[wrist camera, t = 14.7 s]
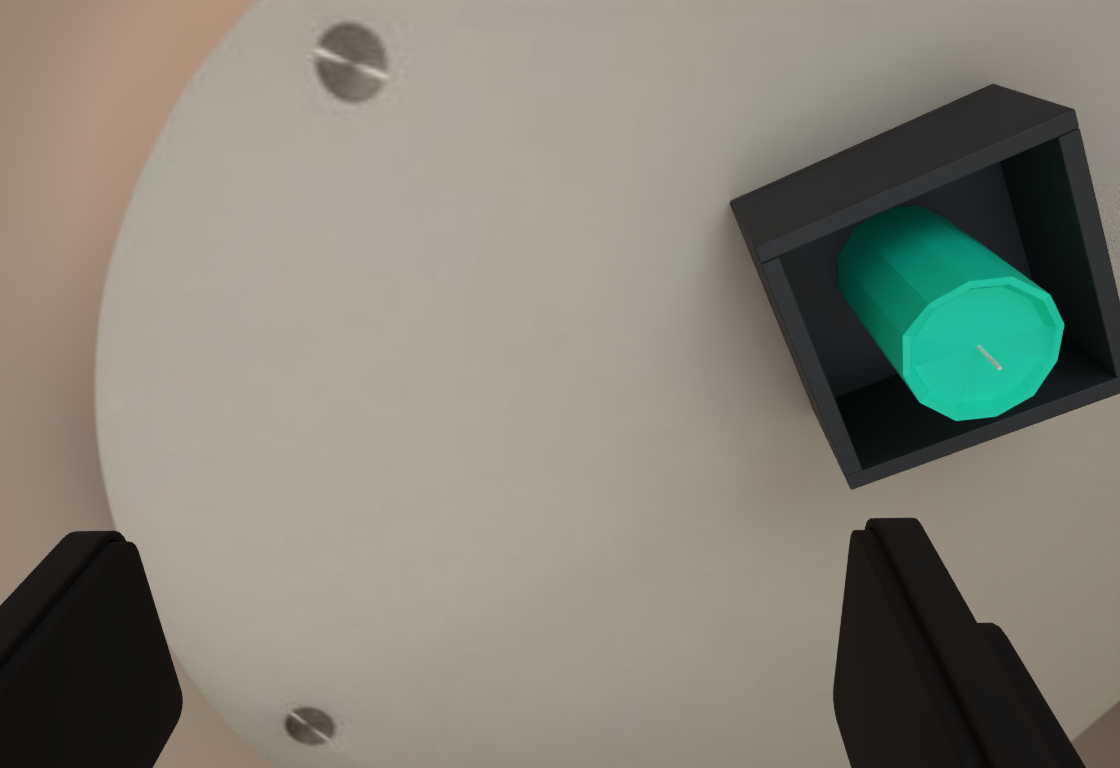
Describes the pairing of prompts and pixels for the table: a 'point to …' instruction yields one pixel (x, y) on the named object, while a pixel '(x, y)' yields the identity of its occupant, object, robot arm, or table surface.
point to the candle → (949, 313)
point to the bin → (978, 209)
